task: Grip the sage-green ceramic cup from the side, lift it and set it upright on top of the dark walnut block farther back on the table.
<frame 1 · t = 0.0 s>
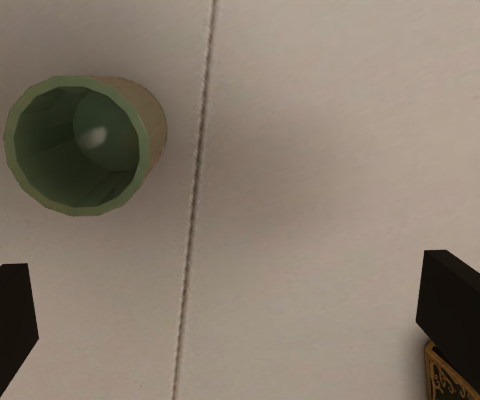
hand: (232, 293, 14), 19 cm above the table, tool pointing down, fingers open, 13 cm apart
decorative box: (468, 374, 39), on the table
cup: (118, 128, 31), on the table
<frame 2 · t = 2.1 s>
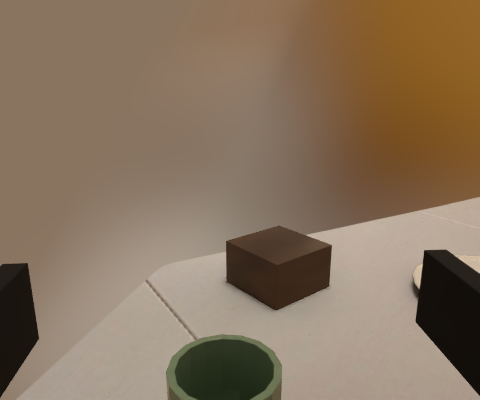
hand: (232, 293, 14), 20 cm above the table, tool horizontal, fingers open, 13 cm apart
block: (277, 283, 58), on the table
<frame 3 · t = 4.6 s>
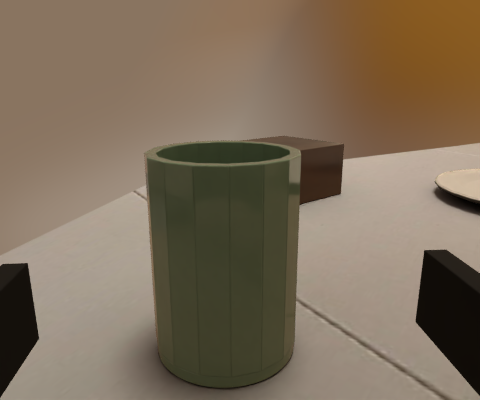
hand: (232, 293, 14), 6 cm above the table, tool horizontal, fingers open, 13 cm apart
block: (282, 192, 52), on the table
cup: (226, 341, 22), on the table
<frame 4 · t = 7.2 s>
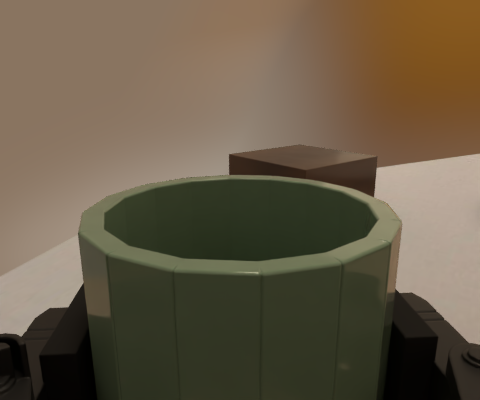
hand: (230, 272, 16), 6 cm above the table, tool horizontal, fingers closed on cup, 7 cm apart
block: (299, 214, 42), on the table
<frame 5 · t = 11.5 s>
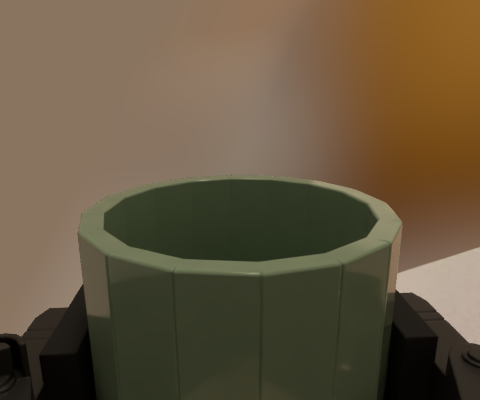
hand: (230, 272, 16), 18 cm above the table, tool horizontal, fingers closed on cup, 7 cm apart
when the fingers open (12 cm above the table, at t = 15.7 s): cup stays where it is, resting on block.
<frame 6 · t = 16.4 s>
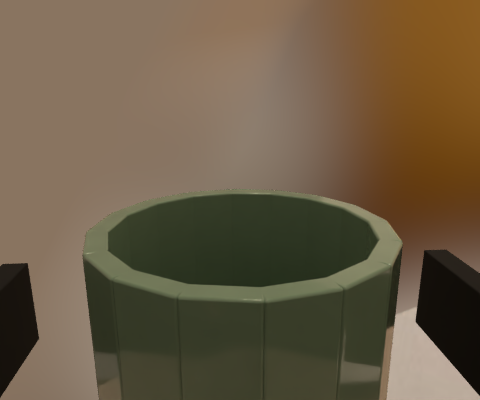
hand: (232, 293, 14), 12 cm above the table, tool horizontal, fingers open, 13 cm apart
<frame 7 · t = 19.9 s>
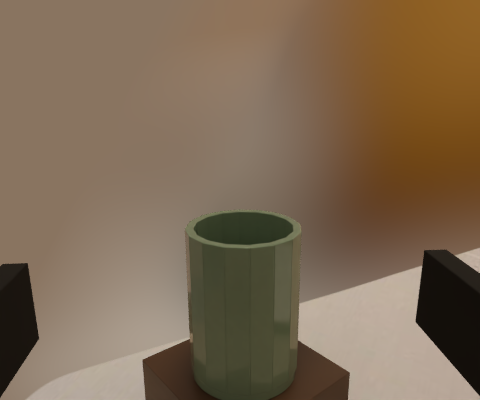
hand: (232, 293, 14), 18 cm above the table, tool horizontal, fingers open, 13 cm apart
cup: (244, 366, 29), point 6 cm above the table, touching block
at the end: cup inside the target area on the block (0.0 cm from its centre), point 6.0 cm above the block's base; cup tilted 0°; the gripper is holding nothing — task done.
